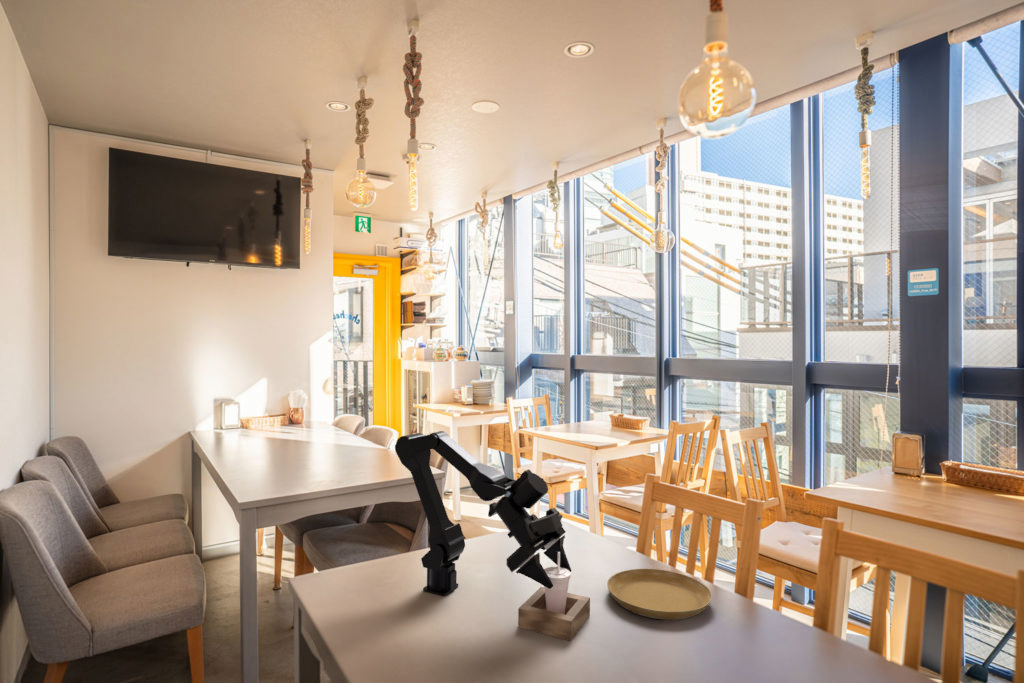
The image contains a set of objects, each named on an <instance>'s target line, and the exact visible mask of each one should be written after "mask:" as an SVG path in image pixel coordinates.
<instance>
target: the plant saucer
mask: <svg viewBox="0 0 1024 683" xmlns="http://www.w3.org/2000/svg"><path fill="white" fill-rule="evenodd" d="M606 584H607V590H608V592H609V593H610V595H611V597H612V598H613V599H614V600H615V601H616V602H617V603H618V604H619V605H620V606H622V607H623V608H624V609H626V610H628V611H630V612H631V613H634V614H636V615H639V616H642V617H645V618H649V619H655V620H663V621H664V620H666V621H676V620H677V621H678V620H679V621H680V620H685V619H688V618H691V617H695V616H697V615H699V614H701V613H702V612H703V611H705V609H707V608H708V606H709V605H710V604H711V603H712V599H713V593H712V590H710V588H709V587H708V586H707V585H705V584H704V583H702V582H701V581H700V580H698V579H696V578H693V577H691V576H689V575H685V574H683V573H679V572H676V571H670V570H667V569H666V570H665V569H661V568H660V569H659V568H633V569H632V568H631V569H628V570H627V569H626V570H622V571H619V572H617V573H615V574H613V575H611V576H610V577H609V578H608V579H607V582H606Z"/></svg>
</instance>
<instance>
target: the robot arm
mask: <svg viewBox="0 0 1024 683" xmlns="http://www.w3.org/2000/svg"><path fill="white" fill-rule="evenodd" d="M394 449H395V453H396V456H397V457H398V459H399V461H400V463H401V465H403V466H404V467H405V469H407V470H408V471H409V472H410V474H411V476H412V480H413V483H414V485H415V488H416V491H417V494H418V496H419V497H418V498H419V500H420V503H421V505H422V506H421V507H422V509H423V511H424V514H425V517H426V519H427V522H428V526H429V532H428V545H429V551H427V552H426V553H425V554H424V555H423V556H422V557H421V559H420V561H421V563H422V567H423V568H424V569H426V585H425V586H424V587H423V588H422V591H424V592H428V593H430V594H431V593H432V594H436V595H440V596H446V595H448V594H450V593H451V592H452V591H454V590H456V589H457V588H458V587H459V583H458V582H457V576H458V575H457V570H456V561H459V559H460V556H461V554H462V553H463V552H464V550H465V548H466V541H465V540H466V537H465V535H464V533H463V530H462V526H461V524H460V523H459V522H458V523H456V524H454V523H453V522H452V521H451V520H450V518H449V516H448V512H447V511H446V508H445V505H444V502H443V499H442V496H441V494H440V493H441V492H440V491H439V487H438V485H437V483H436V482H437V481H436V479H435V477H434V474H433V470H432V468H431V466H430V460H431V456H432V455H431V454H432V453H431V452H432V451H431V450H434V451H435V452H436V453H437V454H438V455H440V456H441V457H442V458H443V459H444V460H445V461H446V462H448V463H449V464H450V465H451V466H452V467H453V468H455V469H456V470H457V471H458V472H459V473H460V474H462V475H463V476H464V477H465V478H466V479H467V480H468V483H469V485H470V488H471V489H472V491H473V492H474V493H475V494H476V496H477V497H478V498H479V499H481V501H484V502H491V501H493V500H495V499H497V498H500V497H501V498H500V499H499V500H498V501H497V502H492V503H490V504H488V506H489V507H488V508H489V509H488V518H491V517H493V516H495V515H498V517H499V519H501V521H502V522H503V524H504V525H505V527H506V528H507V530H508V531H509V532H508V533H507V536H508V537H509V539H510V538H514V539H515V541H516V542H517V543H518V545H519V547H518V548H516V550H515V551H514V552H513V553H511V555H509V556H508V557H507V558H506V566H507V568H508V570H509V571H510V572H511V573H514V571H515V573H516V574H520V575H523V576H525V577H528V578H529V579H531V580H533V581H535V582H536V583H538V584H539V585H542V587H544V586H545V587H547V588H549V589H551V588H552V587H553V584H552V582H551V580H550V578H549V577H548V575H547V573H546V572H545V570H544V569H545V568H544V566H543V565H542V564H541V560H540V559H541V557H540V555H541V554H540V552H538V551H539V550H542V551H544V552H543V554H544V556H546V557H547V558H548V559H550V560H551V561H552V562H553V563H554V564H555V565H558V552H560V567H562V568H565V569H567V570H569V571H570V573H571V572H572V568H571V566H570V563H569V560H568V557H567V555H566V552H565V548H564V543H565V538H566V535H565V534H566V532H567V531H566V530H565V529H564V527H563V523H562V518H563V515H562V514H561V513H560V511H558V509H556V507H553V508H550V509H547V510H546V511H545V515H544V516H542V517H537V515H536V514H534V513H533V514H530V513H529V512H528V511H527V510H526V509H532V508H533V507H534V506H535V505H536V504H537V503H538V502H539V501H540V500H541V499H542V498H543V497H544V496H546V494H547V493H549V486H548V485H547V482H546V481H545V479H544V478H542V477H541V476H540V475H539V474H537V473H535V472H532V471H531V470H530V469H526V470H524V471H523V472H521V474H520V476H519V477H518V478H517V479H514V478H510V477H509V476H507V475H506V474H505V473H503V472H502V471H501V470H498V469H496V468H495V467H493V466H490V465H486V464H484V463H482V462H481V461H479V460H478V459H477V458H476V457H474V456H473V455H472V454H471V453H469V452H468V451H467V450H466V449H464V448H463V446H461V445H460V444H459V443H457V441H455V440H454V439H453V438H451V437H450V436H449V434H448V432H446V431H444V430H440V431H436V432H435V431H434V432H430V433H429V434H427V435H426V434H424V433H421V432H416V433H411V434H407V435H402V436H400V437H398V438H397V440H396V443H395V445H394ZM507 494H509V495H507ZM506 495H507V496H506Z"/></svg>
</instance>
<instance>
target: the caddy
mask: <svg viewBox="0 0 1024 683" xmlns="http://www.w3.org/2000/svg"><path fill="white" fill-rule="evenodd" d="M517 611H518V612H517V614H518V615H517V616H518V617H517V619H518V620H517V627H518V628H521V629H525V630H527V631H532V632H536V633H540V634H544V635H548V636H551V637H555V638H559V639H563V640H566V641H570V642H571V641H572V640H574V637H575V636H576V635H577V634H578V632H579V631H580V630H581V628H582V627H583V626H584V624H585V623H586V622H587V620H588V619H589V618H590V616H591V597H588V596H584V595H581V594H580V595H579V594H575V593H571V592H570V593H569V592H567V599H566V607H565V614H560V613H556V612H551V611H547V608H546V598H545V589H544V586H540V587H539V588H538V589H537V590H536V591H535V592H533V594H531V596H530V597H529V598H527V600H526V601H525V602H523V603H522V604H521V605H520V606H519V607H518V610H517Z"/></svg>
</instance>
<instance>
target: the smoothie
mask: <svg viewBox="0 0 1024 683" xmlns="http://www.w3.org/2000/svg"><path fill="white" fill-rule="evenodd" d="M544 570H545V572H546V573H547V575H548V577H549V578H550V580H551V582H552V584H553V587H552V588H551V589H549V588H547V587H545V586H543V587H544V589H545V598H546V608H547V611H551V612H556V613H560V614H565V607H566V599H567V593H569V591H568V590H569V583H570V581H571V578H572V576H571V575H572V574H571V572H570V571H569V570H567V569H565V568H562V567H560V552H558V565H557V566H550V567H546V568H544Z"/></svg>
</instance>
